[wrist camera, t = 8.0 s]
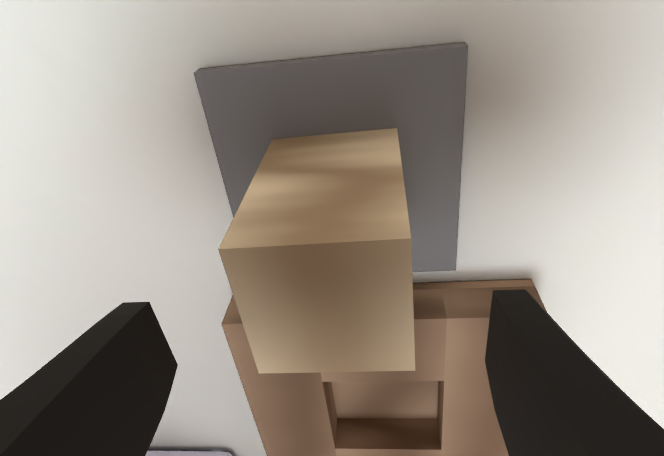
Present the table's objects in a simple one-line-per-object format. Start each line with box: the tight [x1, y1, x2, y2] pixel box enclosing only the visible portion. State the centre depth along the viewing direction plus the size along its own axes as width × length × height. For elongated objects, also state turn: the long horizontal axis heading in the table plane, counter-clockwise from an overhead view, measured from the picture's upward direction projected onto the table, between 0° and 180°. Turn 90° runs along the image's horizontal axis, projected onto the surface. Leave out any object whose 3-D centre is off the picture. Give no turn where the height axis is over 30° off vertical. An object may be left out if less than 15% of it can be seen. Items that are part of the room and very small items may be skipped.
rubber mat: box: [194, 42, 468, 272], centre depth 15 cm, size 8×8×1 cm
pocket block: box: [222, 279, 547, 456], centre depth 20 cm, size 12×12×2 cm
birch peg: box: [218, 128, 415, 374], centre depth 13 cm, size 4×4×6 cm
